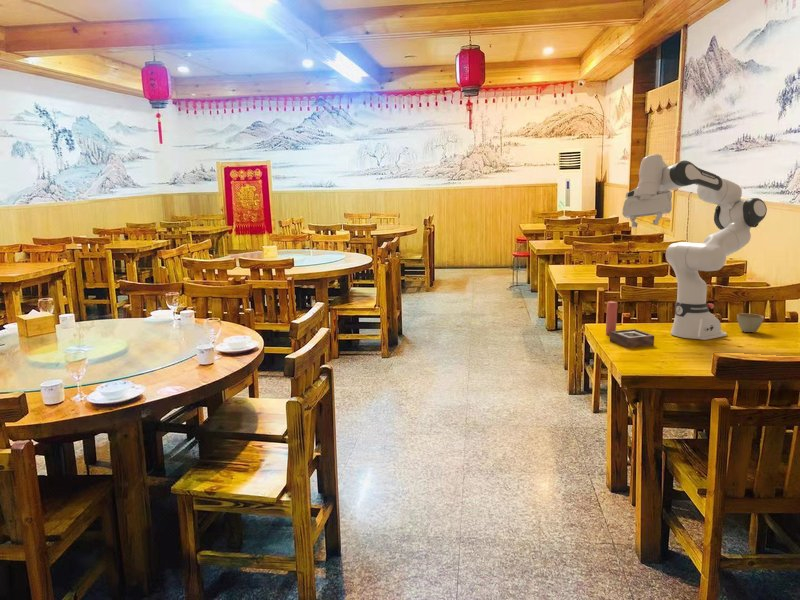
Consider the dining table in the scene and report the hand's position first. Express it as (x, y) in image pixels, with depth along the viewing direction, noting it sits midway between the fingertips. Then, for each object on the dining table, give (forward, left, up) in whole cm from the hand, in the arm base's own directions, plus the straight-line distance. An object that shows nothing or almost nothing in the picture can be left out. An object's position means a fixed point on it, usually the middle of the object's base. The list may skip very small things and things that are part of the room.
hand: (644, 225), depth 255 cm
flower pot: (-50, +8, -47) cm, 69 cm away
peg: (+8, -8, -46) cm, 48 cm away
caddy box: (+9, +7, -46) cm, 48 cm away
